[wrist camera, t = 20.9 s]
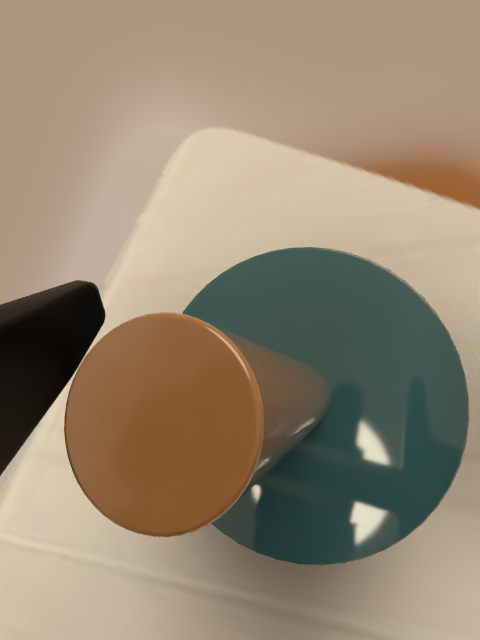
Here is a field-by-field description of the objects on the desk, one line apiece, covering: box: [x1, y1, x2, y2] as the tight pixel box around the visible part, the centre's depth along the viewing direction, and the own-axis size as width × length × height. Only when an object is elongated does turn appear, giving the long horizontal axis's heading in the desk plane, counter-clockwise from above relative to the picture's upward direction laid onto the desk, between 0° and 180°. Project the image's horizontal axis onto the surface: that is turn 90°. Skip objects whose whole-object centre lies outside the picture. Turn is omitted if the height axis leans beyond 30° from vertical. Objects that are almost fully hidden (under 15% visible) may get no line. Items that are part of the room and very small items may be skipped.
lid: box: [64, 247, 469, 565], centre depth 9 cm, size 10×10×11 cm
